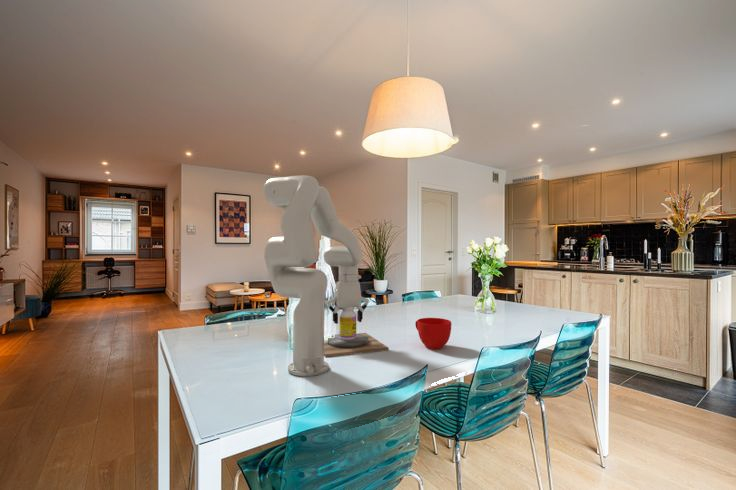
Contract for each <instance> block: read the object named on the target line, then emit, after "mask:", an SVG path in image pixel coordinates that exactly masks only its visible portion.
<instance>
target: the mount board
mask: <svg viewBox="0 0 736 490" xmlns="http://www.w3.org/2000/svg"><path fill="white" fill-rule="evenodd" d="M334 335H335V337H334V338H328V342H325V343H324V358H332V357H340V356H350V355H357V354H368V353H377V352H385V351H389V349H390V348H389V347H388V346H387V345H386V344H384V343H383V342H380V341H379V340H378V339H376V338H375V337H373V336H371V335H370V334H368V333H367V332H359V333H356V338H355V339H354V340H342V339H340V337H339V333H338V334H334Z"/></svg>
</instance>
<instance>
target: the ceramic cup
mask: <svg viewBox="0 0 736 490" xmlns="http://www.w3.org/2000/svg"><path fill="white" fill-rule="evenodd" d="M414 323H415V328H416V330H417V333H418V337H419V339H420V341H421V342H422V344H423V345H424V346H425V348H427V349H430V350H441V349H443V348H444V347H445V346H446V345H447V343H448V341H449V339H450V337H451V333H452V321H451V320H449V319H446V318H441V317H422V318H418V319H417V320H416V321H415V322H414Z"/></svg>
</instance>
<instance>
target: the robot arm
mask: <svg viewBox="0 0 736 490" xmlns="http://www.w3.org/2000/svg"><path fill="white" fill-rule="evenodd" d="M319 184H320V183H319V181H318V180H317V178H316V177H314V176H311V175H301V174H300V175H289V176H279V177H272V178H269V179H268V180H266V182H265V183H264V185H263V189H262V190H263V196H264V198H265V200H266V202H267V203H268V204H269V205H271V206H273V207H276V208H279V209H280V210H281V209H282V210H284V211H283V213H282V216H281V218H280V230H281V233H282V236H281V235H279V236H274V237H271V238H270V239H268V241H266V244H265V247H264V254H263V255H264V261H265V266H266V269H267V274H268V276H269V279H270V283H271V285H272V288H273V291H274V293H275V294H276V295H277V296H279V297H281V298H282V297H283V298H289V299H290V298H291V299H292V298H293V299H300V300H299V302H298V303H297V305H296V307H295V308H294V310H293V315H292V317H293V318H292V319H293V320H292V323H293V324H292V325H293V327H292V330H293V331H292V336H293V337H292V341H293V342H292V362H291V363H289V365H288V366H287V372H288V373H289V374H291V375H293V376H298V377H299V376H300V377H313V376H317V375H321V374H324V373H326V372H328V370H329V368H330V367H329V366H330V365H329V363H328V362H327V361H325V356H324V336H325V303H326V306H327V308H328V309H329V310H330V311H331V312H332V321H333V323H334V324H336V325H337V324H339V313H338V312H339V310H340V309H342V308H347V307H353V308H354V309H355V308H356V309H357V312H356V322H359V323H362V320H363V312H364V311H365V310H366V308H367V307H368V304H369V303H370V300H369V299H367V298H365V297H364V296H362V291H361V284H360V281H359V280H360V279H362V275H359V274H358V273H359V266H360V265H361V263H362V262H363V257H364V255H363V250H362V247H361V244H360V240H359V238H358V237H357V235H356V234H355V233H354V232H353V230H351V229H350V228H349V227H348V226H346V225H345V224H343V223H342V222H340V220H339V217H338V214H337V212H336V208H335V206H334V204H333V201H332V198H331V195H330V193H329V190H328V189H327V188H326V187H325V186H322V185H321V186H320V185H319ZM311 221H312V223H313V225H314V228H315V231H316V232H317V233H318V234H319V235H321V236H322V237H326V238H328V239H330V240H332V241H336V242H338V243H340V244H342V245H336V246H335V245H334V246H329V247H327V248H326V249H325V251H324V253H323V260H324V262H325V263H326V264H327V265H328V266H331V267H338V281H336V284H335V288H334V296H333V297H332V298H331V299H328V300H327V301H326V295H327V290H328V289H327V288H328V277H327V275H326V273H325V272H324V271H322V270H321V269H318V268H312V267H311V266H313V265H314V264H315V263H316V260H317V251H316V250H317V249H316V245H315V240H314V235H313V232H312V226H311ZM336 289H337V291H336ZM325 301H326V302H325ZM362 301H363V304H362ZM332 303H333V305H334V307H333V305H332Z"/></svg>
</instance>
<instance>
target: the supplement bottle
mask: <svg viewBox="0 0 736 490" xmlns="http://www.w3.org/2000/svg"><path fill="white" fill-rule="evenodd" d="M341 309H342V311H341V312H340V313H339V323H338V324H339V327H338V328H339V331H338V332H339V333H338V334H339V337H340V339H342V340H354V339H355V338H356V334H357V312H355V311H354V309H355V308H353V307H347V308H341Z"/></svg>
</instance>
